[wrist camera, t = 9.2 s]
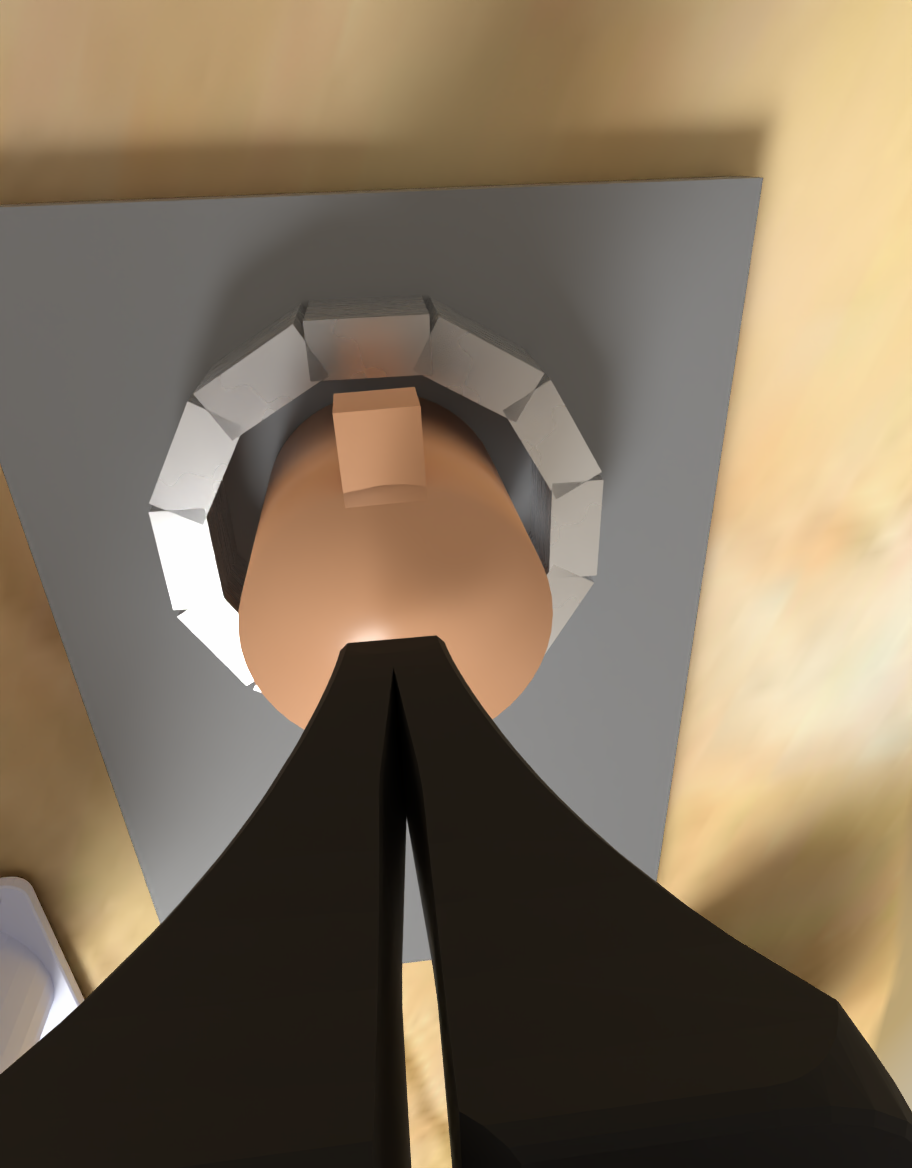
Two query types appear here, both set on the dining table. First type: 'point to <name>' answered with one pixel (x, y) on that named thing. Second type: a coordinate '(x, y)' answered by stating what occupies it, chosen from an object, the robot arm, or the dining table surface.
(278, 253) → the board
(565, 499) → the segmented grey ring
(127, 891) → the dining table surface
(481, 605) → the cap
